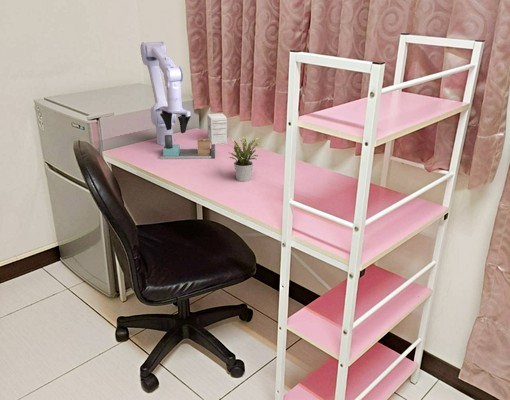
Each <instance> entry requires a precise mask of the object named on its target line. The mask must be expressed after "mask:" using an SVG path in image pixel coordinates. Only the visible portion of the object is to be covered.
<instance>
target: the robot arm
mask: <svg viewBox="0 0 510 400" xmlns="http://www.w3.org/2000/svg"><path fill="white" fill-rule="evenodd" d="M139 48H140V55H141V61H142V63H143V65H145V66H147V70H148V74H149V77H150V83H151V88H152V93H153V97H154V102H155V104H154V105H153V106H152V107H151V109H150V118H151V123H152V124H153V126H155V131H156V133H155V134H156V143H157V145H161V146H165V135H172V145H174V141H176V139H174V128H173V127H174V125H175V124H176V122H177V119H178V122H179V128H180V134H184V133H186V131H187V127H188V123H189V121H190V120H191V116H192V113H191V110H188V109H185V108H184V107H183V102H182V101H183V100H182V97H183V96H182V82H183V81H184V80H183V79H184V73H183V69H182V67H181V66H178V65H177V66H176V64H175V63H174V61H173V60H172V58H171V57H169V56H168V55H167V45H166V43H165V42H164V41H153V42H141V44H140V47H139ZM161 72H162V74H163V79H162V74H161ZM163 80H164V82H163ZM164 86H165V87H164ZM165 88H166V91H165ZM165 92H166V93H165ZM177 115H179V116H177Z"/></svg>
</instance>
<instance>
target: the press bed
mask: <svg viewBox="0 0 510 400" xmlns="http://www.w3.org/2000/svg"><path fill="white" fill-rule="evenodd" d="M163 149H164V148H162V151H161V155H160V156H159V160H201V159H202V160H209V159H210V160H211V159H213V160H214V159H215V160H216V144H211V143H210V156H198V148H180V153H179V156H163Z"/></svg>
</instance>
